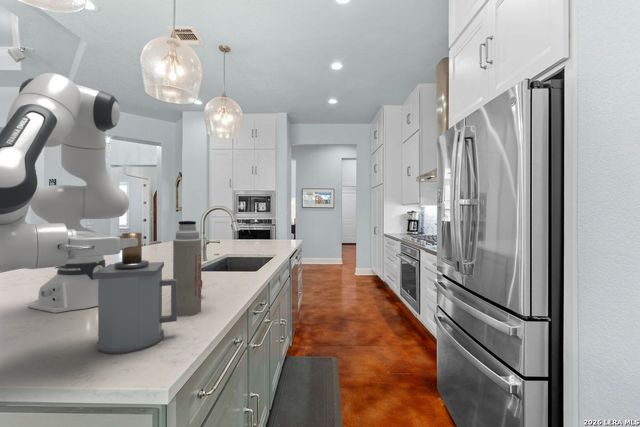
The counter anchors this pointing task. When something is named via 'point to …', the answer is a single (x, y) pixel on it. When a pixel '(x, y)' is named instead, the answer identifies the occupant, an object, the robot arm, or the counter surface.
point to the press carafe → (132, 307)
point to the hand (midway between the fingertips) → (129, 240)
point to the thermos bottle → (187, 268)
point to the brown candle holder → (132, 254)
